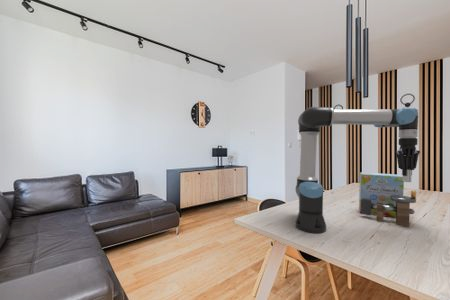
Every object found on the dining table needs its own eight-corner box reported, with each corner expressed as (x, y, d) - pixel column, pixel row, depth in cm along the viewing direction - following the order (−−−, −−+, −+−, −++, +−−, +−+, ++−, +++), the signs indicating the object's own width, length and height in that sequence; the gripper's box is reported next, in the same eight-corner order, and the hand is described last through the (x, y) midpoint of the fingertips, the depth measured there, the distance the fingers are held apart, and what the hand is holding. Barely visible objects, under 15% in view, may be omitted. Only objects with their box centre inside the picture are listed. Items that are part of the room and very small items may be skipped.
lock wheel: (412, 199, 116) (412, 189, 116) (419, 204, 107) (419, 193, 106) (388, 196, 122) (388, 187, 121) (392, 201, 112) (392, 191, 112)
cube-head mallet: (414, 222, 110) (415, 206, 110) (361, 214, 124) (362, 199, 124) (413, 220, 113) (414, 204, 113) (362, 212, 127) (362, 198, 127)
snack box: (359, 213, 131) (360, 173, 130) (358, 209, 139) (358, 172, 138) (403, 219, 121) (404, 176, 120) (399, 214, 129) (400, 174, 128)
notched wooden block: (409, 227, 109) (409, 203, 109) (376, 221, 118) (377, 198, 117) (407, 222, 116) (407, 199, 116) (376, 216, 125) (376, 195, 124)
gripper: (403, 137, 104) (402, 183, 105) (426, 137, 106) (425, 182, 107) (390, 138, 112) (389, 180, 112) (411, 138, 114) (410, 180, 114)
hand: (406, 181), depth 110 cm, fingers closed
